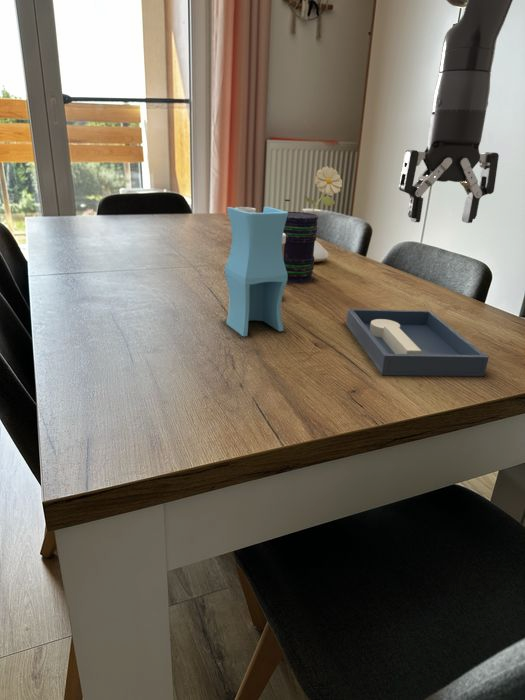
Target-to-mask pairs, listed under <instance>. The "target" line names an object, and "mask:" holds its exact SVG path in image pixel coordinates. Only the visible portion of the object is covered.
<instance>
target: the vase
mask: <svg viewBox="0 0 525 700" xmlns="http://www.w3.org/2000/svg"><path fill="white" fill-rule="evenodd" d="M226 211H227V215H228V219H229V224H230V230H231V246H230V251H229V255H228V258H227V261H226V263H225V266H224V275H225V280H226V284H227V290H228V298H229V299H228V301H229V302H228V312H227V318H226V323H225V324H226V325H227V326H228V327H230V328H231V330H234V331H235V332H236V333H237V334H239V335H240V336H242V337H248V331H249V321H250V322H251V321H257V322H258V321H259V322H264V323H266V324H267V325H268V326H271V327H272V328H273V329H274V330H277V331H278V332H284V331H285V330H284V326H283V320H282V300H283V298H284V292H285V288H286V286H287V284H288V283H287V278H288V275H287V271H286V268H285V264H284V260H283V254H282V236H283V231H284V226H285V222H286V219H287V215H288V212H289V211H286V210H283V209H278V208H276V207H271V206H264V207H263V211H262V212H255V213H253V212H245V211H242V210H239V209H235V207H232V206H227V207H226Z"/></svg>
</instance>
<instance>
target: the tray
mask: <svg viewBox="0 0 525 700" xmlns="http://www.w3.org/2000/svg"><path fill="white" fill-rule="evenodd" d="M375 319H387V320H392V321H395V322H397V323H399V324H400V329H401V330H402V331H403V332H404V333H405V334H406V335H407V336H408V337H409V338H410V339H411V340H412V341H413V343H414V344H415V345H416V346H417V347H418V348H419V349H420V350H421V354H395V353H394V352H393V351H392V349H391V348H390V347H389V346H388V345H387V343H386V342H385V341H384V340H383V339H382V338H380V337H376V336H374V335H373V334H372V333H371V332H370V324H371V321H372V320H375ZM345 325H346V327H347V328H348V330H349V331H350V332H351V334H352V336H353V337H354V338H355V340H356V341H357V342H358V344H359V345H360V347H361V349H363V351H364V353H365V354H366V355H367V356H368V358H369V359H370V361H371V362H372V364H373V365H374V367H375V368H376V369H377V371H378V372H379V374H380V375H381V376H413V377H414V376H419V377H420V376H422V377H438V376H439V377H485V375H486V370H487V367H488V362H489V356H488V355H487V354H485V353H484V352H483V351H482V350H480V349H479V347H477V346H476V345H474V344H473V343H472V342H471V341H469V340H468V339H467V338H465V337H464V336H463V335H462V334H461V333H459V332H458V331H457V330H456V329H454V328H453V327H452V326H451V325H449V324H448V323H447V322H445V321H444V320H443V319H442V318H441V317H439V316H438V315H437V314H436V313H434V312H433V311H432V310H418V309H417V310H416V309H415V310H411V309H410V310H409V309H372V308H371V309H369V308H368V309H367V308H348V309H347V314H346V323H345Z"/></svg>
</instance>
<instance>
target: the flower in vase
mask: <svg viewBox="0 0 525 700" xmlns="http://www.w3.org/2000/svg"><path fill="white" fill-rule="evenodd" d="M315 174H316V176H315V180H314V184H315V185H316V187H317V188H318V191H319V192H320V193H321V196H320V198H319V199H318V201H317V202H316V200H315V199H312V198H310V197H308V196H306V195H304V200H305V201H306V202H307V203H309V204H312V205H314V207H313V208H302V211H303V213H310V214H315V215H317V216H318V217H319V215H320V213H321V212H322V209H319V208H317V206H318V205H319V203H320V202H321V203H322V204H323V205H324V206H326V207H329V206H333V205H336V202H335V200H334V199H333V198H332V197H333V196H335V194H338V193H340V192H341V188H342V187H343V179H341V174H339V172H338V171H337V169H334V168H333V167H332V166H330V167H329V166H328V165H326V166H323V167H322V168H321V169H318V170H317V171H316V173H315ZM324 195H326V196H324ZM323 196H324V197H323ZM313 256H314V263H320V262H323V261H326V260H328V258H329V256H330V255H329V252H328V251H327V250H326V248H325V247H323V245H321V244H320V243H319V241H317V239H316V240H315V243H314V254H313Z"/></svg>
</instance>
